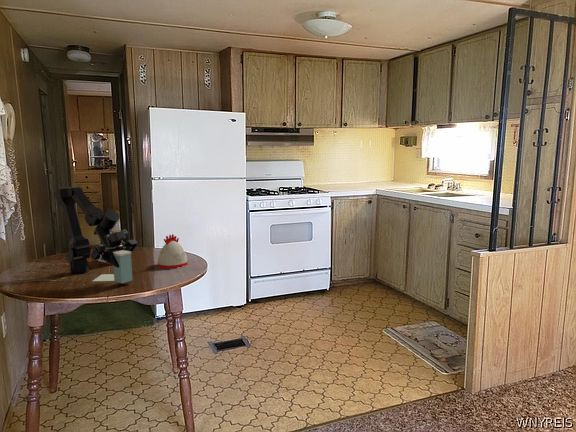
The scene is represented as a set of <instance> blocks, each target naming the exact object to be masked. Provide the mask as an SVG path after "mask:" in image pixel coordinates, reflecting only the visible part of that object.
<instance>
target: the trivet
mask: <svg viewBox="0 0 576 432" xmlns="http://www.w3.org/2000/svg"><path fill="white" fill-rule="evenodd" d="M91 282H115V281H114V273H110V274H109V273H107V274H105V273H103V274H100V275H98V276H97V277H95V279H93V280H91Z"/></svg>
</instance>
